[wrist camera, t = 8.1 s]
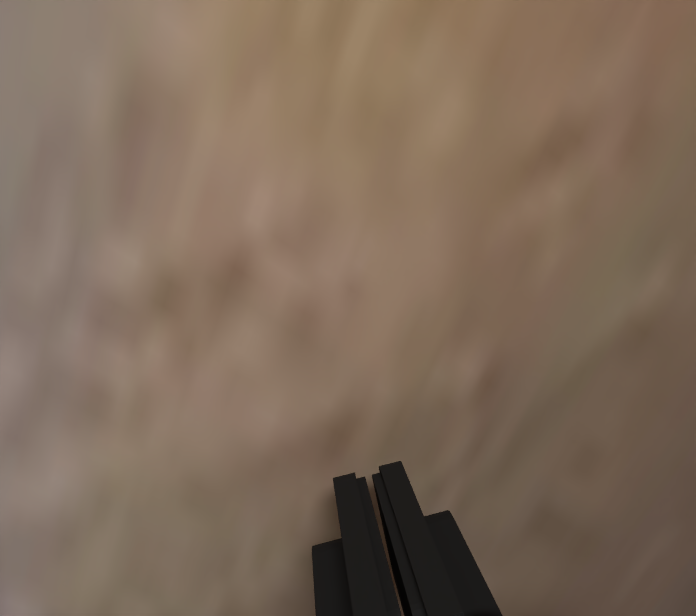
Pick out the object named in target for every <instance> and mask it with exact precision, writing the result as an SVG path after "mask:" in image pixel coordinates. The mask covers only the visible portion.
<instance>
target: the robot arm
mask: <svg viewBox="0 0 696 616" xmlns="http://www.w3.org/2000/svg"><path fill="white" fill-rule="evenodd" d="M379 471H380V473H377V474H373V475H372V478H373V483H374V488H375V492H376V497H377V502H378V506H379V511H380V516H381V520H382V525H383V530H384V534H385V539H386V544H387V548H388V553H389V558H390V562H391V567H392V571H393V575H394V579H395V583H396V586H397V590H398V594H399V597H400V601H401V605H402V609H403V612H404V616H502V614H501V612H500V610H499V608H498V606H497V604H496V602H495V600H494V598H493V596H492V594H491V592H490V590H489V588H488V586H487V584H486V582H485V580H484V578H483V576H482V574H481V572H480V570H479V568H478V566H477V564H476V562H475V560H474V558H473V556H472V554H471V552H470V550H469V548H468V546H467V544H466V542H465V540H464V538H463V536H462V534H461V532H460V530H459V528H458V526H457V524H456V522H455V520H454V518H453V516H452V514H451V513H450V511H448V510H447V511H443V512H439V513H436V514H432V515H428V516H423V513H422V511H421V508H420V506H419V503H418V501H417V499H416V496H415V494H414V491H413V489H412V486H411V484H410V482H409V479H408V477H407V474H406V472H405V469H404V467H403V465H402V462H401V461H398V462H394V463H390V464H386V465H382V466H379ZM333 483H334V489H335V496H336V503H337V509H338V516H339V523H340V529H341V536H342V538H341V539H337V540H333V541H329V542H326V543H322V544H318V545H314V546H312V560H313V576H314V593H315V609H316V616H401V612H400V608H399V604H398V600H397V597H396V593H395V589H394V585H393V581H392V578H391V574H390V570H389V566H388V562H387V559H386V555H385V551H384V547H383V543H382V540H381V536H380V532H379V528H378V524H377V521H376V517H375V513H374V509H373V505H372V501H371V498H370V494H369V490H368V486H367V482H366V479H365V477H361V478H357V479H356V476H355V473H351V474H347V475H343V476H339V477H335V478H333Z"/></svg>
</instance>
